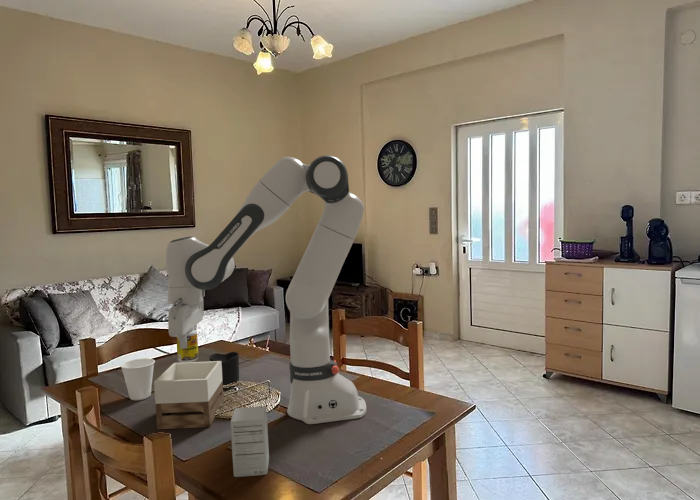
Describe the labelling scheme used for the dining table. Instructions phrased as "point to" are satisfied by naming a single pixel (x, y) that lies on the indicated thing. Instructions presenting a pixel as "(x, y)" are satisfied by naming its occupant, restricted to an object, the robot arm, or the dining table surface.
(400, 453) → the dining table surface
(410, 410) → the dining table surface
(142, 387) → the cup
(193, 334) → the supplement bottle
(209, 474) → the dining table surface
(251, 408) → the supplement box
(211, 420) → the lower crate
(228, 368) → the pen holder
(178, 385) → the upper crate
